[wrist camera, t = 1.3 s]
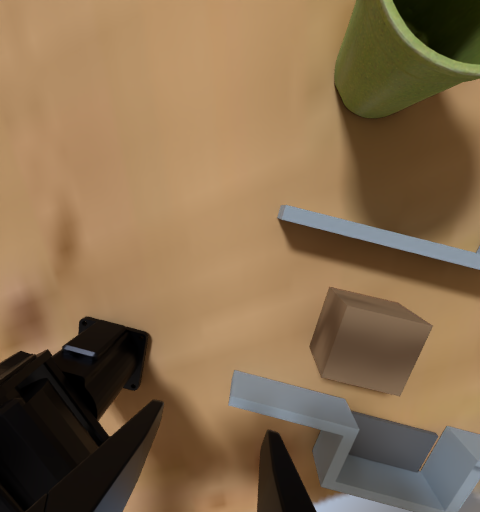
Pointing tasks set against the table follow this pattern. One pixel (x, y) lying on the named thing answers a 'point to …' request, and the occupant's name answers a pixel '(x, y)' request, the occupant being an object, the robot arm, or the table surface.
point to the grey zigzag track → (368, 427)
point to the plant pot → (406, 53)
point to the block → (367, 341)
